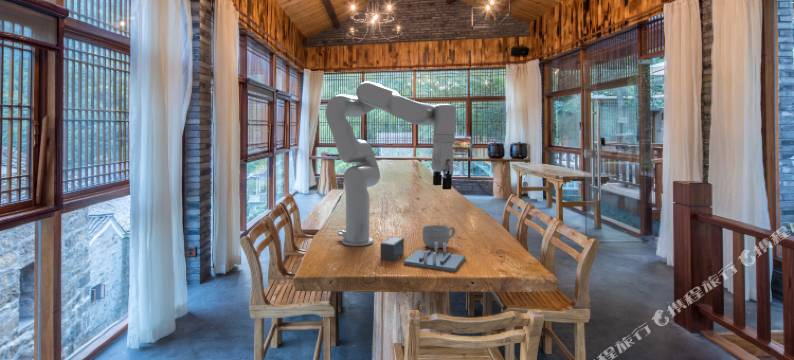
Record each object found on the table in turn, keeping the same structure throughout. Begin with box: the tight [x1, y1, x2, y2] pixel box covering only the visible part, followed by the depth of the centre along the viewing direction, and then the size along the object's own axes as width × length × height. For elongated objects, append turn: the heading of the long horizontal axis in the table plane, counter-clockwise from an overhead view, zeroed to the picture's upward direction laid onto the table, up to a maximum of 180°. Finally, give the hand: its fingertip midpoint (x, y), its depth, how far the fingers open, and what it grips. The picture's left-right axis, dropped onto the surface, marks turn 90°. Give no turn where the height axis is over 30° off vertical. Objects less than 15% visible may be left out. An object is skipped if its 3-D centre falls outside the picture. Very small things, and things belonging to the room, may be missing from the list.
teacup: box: [422, 224, 456, 249], centre depth 164 cm, size 14×11×8 cm
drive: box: [380, 236, 405, 262], centre depth 150 cm, size 5×10×6 cm, turn 158°
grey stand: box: [403, 242, 466, 273], centre depth 145 cm, size 18×15×5 cm
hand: (441, 187), depth 148 cm, fingers open, 9 cm apart
